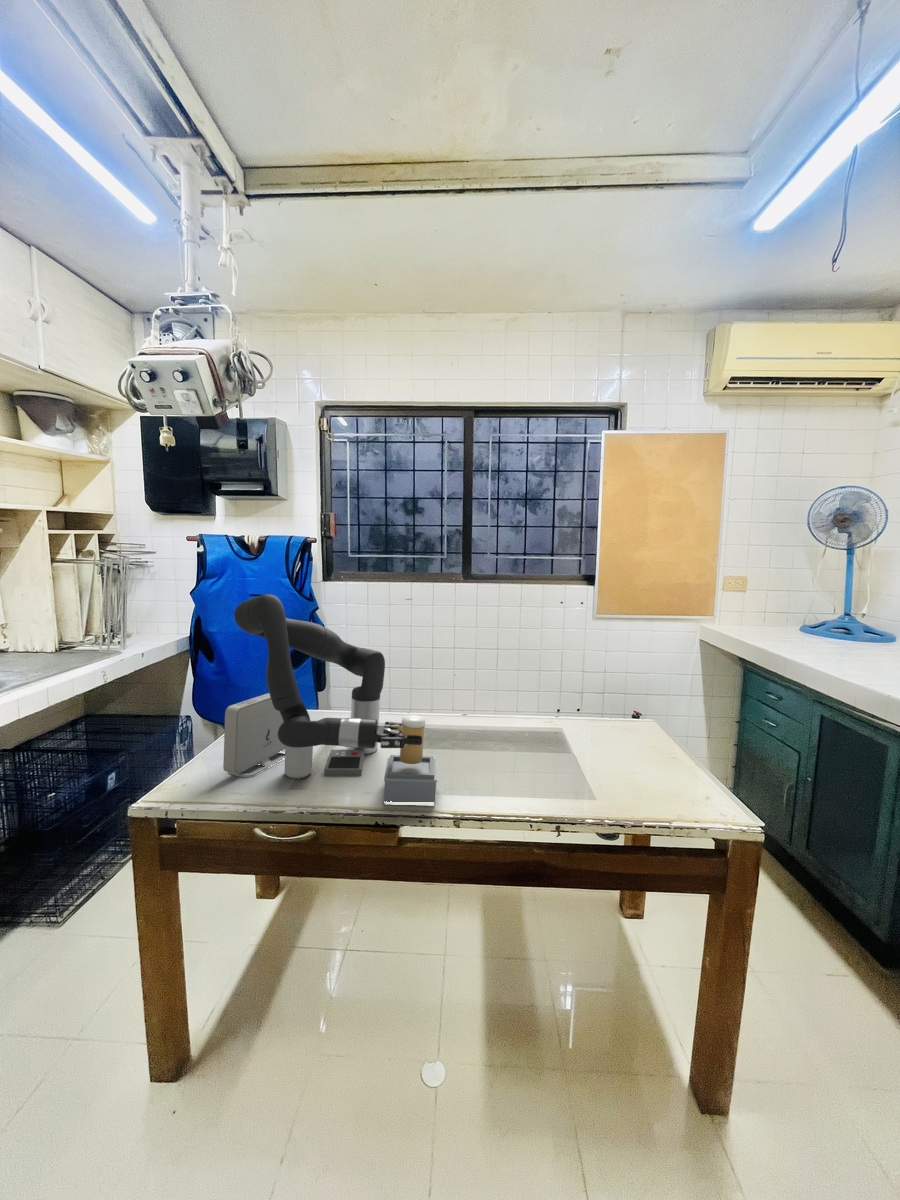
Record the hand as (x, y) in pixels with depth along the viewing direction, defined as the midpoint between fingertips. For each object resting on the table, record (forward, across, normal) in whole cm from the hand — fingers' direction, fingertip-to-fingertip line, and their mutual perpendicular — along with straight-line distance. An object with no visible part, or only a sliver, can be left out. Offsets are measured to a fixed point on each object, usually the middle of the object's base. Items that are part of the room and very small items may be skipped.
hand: (421, 735), depth 124 cm
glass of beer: (-2, 0, +6) cm, 7 cm away
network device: (-47, +16, +17) cm, 52 cm away
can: (-34, +10, +17) cm, 39 cm away
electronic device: (-22, +18, +17) cm, 33 cm away
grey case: (-2, 0, +16) cm, 16 cm away
